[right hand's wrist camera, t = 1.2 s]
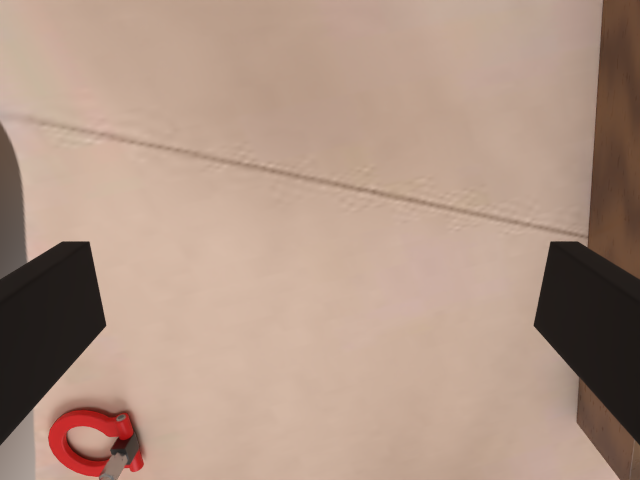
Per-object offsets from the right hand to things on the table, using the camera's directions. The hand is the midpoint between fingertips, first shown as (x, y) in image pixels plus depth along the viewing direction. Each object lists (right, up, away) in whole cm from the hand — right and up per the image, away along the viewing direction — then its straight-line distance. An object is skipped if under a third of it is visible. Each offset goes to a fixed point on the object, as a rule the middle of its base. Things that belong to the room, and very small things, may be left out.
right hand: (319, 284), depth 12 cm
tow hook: (-24, -20, +33) cm, 45 cm away
